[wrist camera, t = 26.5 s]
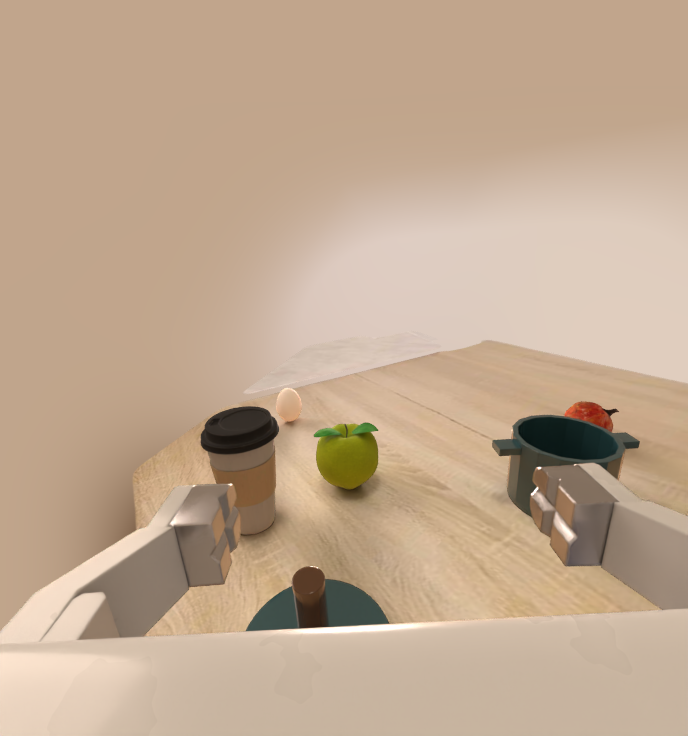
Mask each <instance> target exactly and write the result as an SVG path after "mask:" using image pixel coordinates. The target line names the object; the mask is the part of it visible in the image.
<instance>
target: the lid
mask: <svg viewBox="0 0 688 736" xmlns="http://www.w3.org/2000/svg"><path fill="white" fill-rule="evenodd" d="M378 624H389V622H388V620H387V618H386V616H385V614H384V613H383V611H382V610H381V608H380V607H379V605H378V604H377V603H376V602H375V601H374V600H373V599H372V598H371V597H370V596H369V595H368V594H366V593H365V592H364V591H362V590H361V589H359V588H357V587H355V586H353V585H351V584H348V583H345V582H342V581H337V580H330V579H325V576H324V574H323V572H322V571H321V570H320V569H319V568H317V567H313V566H307V567H304V568H301V569H300V570H298V571H297V572H296V573H295V575H294V576H293V579H292V586H291V587H289V588H287V589H285V590H283V591H282V592H280V593H279V594H277V595H275V596H274V597H273V598H272V599H270V600H269V601H268V602H267V603H266V604H265V605H264V606H263V607H262V608H261V609H260V610H259V611H258V613H257V614H256V615H255V616H254V618H253V619H252V621H251V622H250V624H249V625H248V627H247V629H246V631H262V630H282V629H301V628H320V627H340V626H359V625H378Z"/></svg>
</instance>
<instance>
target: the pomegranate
mask: <svg viewBox="0 0 688 736" xmlns="http://www.w3.org/2000/svg"><path fill="white" fill-rule="evenodd" d="M615 412H619V411H618V410H617V409H612V410H605V409H603V408H602V407H601V406H599V405H598V404H596V403H592V402H578V403H575V404H574V405H573V406H571V407H570V408H569V409H568V410H567V411H566V413H565V417H571V418H575V419H580V420H584V421H588V422H591V423H593V424H595V425H598V426H600V427H603V428H605V429H607V430H609V431H610V432H612V429H613V423H612V420H611V418H610V416H611V415H612V414H613V413H615Z"/></svg>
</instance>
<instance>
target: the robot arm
mask: <svg viewBox="0 0 688 736" xmlns="http://www.w3.org/2000/svg"><path fill="white" fill-rule="evenodd" d="M532 481H533V482H534V484H535V485H536V486H537V488H536V489H535V491H534V492H533V493H532V494H531V497H530V509H531V514H532V518H533V520H534V522H535V524H536V526H537V527H538V529H539V530H540V532H542V533H544V534H545V535H547V536H549V537H551V540H550V546H551V547H552V549H553V550H554V551H555V553H556V554H557V556H558V557H559V558H560V560H561V561H562V563H563V564H564V565H565V566H601V568H603V569H604V570H606V571H607V572H609V573H610V574H611V575H613V576H614V577H616V578H617V579H619V580H620V581H622V582H623V583H624V584H626V585H627V586H629V587H630V588H632V589H633V590H635V591H636V592H637V593H639V594H640V595H642V596H643V597H645V598H646V599H647V600H649V601H650V602H652V603H653V604H655V605H656V606H658V607H659V608H660V609H662V610H650V611H633V612H614V613H594V614H574V615H553V616H533V617H513V618H493V619H473V620H454V621H435V622H416V623H397V624H378V625H359V626H340V627H320V628H301V629H282V630H262V631H243V632H224V633H204V634H185V635H165V636H146V637H143V636H144V635H145V634H146V633H147V632H148V631H149V630H150V629H151V628H152V627H153V626H154V625H155V624H156V623H157V622H158V621H159V620H160V619H161V618H162V617H163V616H164V615H165V614H166V613H167V611H168V610H169V609H170V608H171V607H172V606H173V605H174V604H175V603H176V602H177V601H178V600H179V599H180V598H181V597H182V596H183V595H184V594H185V593H186V592H187V591H188V590H189V587H197V586H209V585H221V584H224V583H225V580H226V577H227V574H228V571H229V569H230V566H231V563H232V560H231V554H230V553H231V552H232V551H233V550H235V549H236V548H237V545H238V542H239V539H240V532H241V516H240V511H239V510H238V509H237V508H236V507H235V506H234V503H235V501H236V498H237V494H236V489H235V486H234V485H233V484H205V485H182V486H177V487H174V488H173V490H172V491H171V493H170V494H169V495H168V497H167V498H166V500H165V501H164V503H163V504H162V505H161V507H160V508H159V510H158V511H157V513H156V514H155V515H154V517H153V518H152V520H151V521H150V523H149V524H148V525H147V527H146V528H139V529H138V530H136V531H134V532H133V533H131V534H130V535H128V536H126V537H125V538H123V539H122V540H120V541H118V542H117V543H115V544H113V545H112V546H110V547H109V548H107V549H105V550H104V551H102V552H101V553H99V554H97V555H96V556H94V557H92V558H91V559H89V560H88V561H86V562H84V563H83V564H81V565H79V566H78V567H76V568H75V569H73V570H71V571H70V572H68V573H67V574H65V575H63V576H62V577H60V578H58V579H57V580H55V581H54V582H52V583H50V584H49V585H47V586H46V587H44V588H42V589H41V590H39V591H37V592H36V593H34V594H33V595H32V596H31V597H30V598H29V600H28V601H27V602H26V603H25V604H24V605H23V606H22V607H21V609H20V610H19V611H18V612H17V613H16V614H15V615H14V616H13V618H12V619H11V620H10V621H9V622H8V623H7V624H6V626H5V627H4V628H3V629H2V630H1V631H0V736H688V516H687V515H684V514H681V513H679V512H676V511H674V510H671V509H669V508H666V507H664V506H661V505H659V504H656V503H654V502H651V501H642V500H641V499H640V498H639V497H637V496H636V495H635V494H634V493H633V492H631V491H630V490H629V489H628V488H627V487H625V486H624V485H623V484H622V483H621V482H619V481H618V480H617V479H616V478H615V477H613V476H612V475H611V474H610V473H609V472H607V471H606V470H605V469H604V468H603V467H601V466H600V465H598V464H595V463H584V464H574V465H564V466H550V467H536V469H535V471H534V473H533V480H532Z"/></svg>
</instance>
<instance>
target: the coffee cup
mask: <svg viewBox="0 0 688 736" xmlns="http://www.w3.org/2000/svg"><path fill="white" fill-rule="evenodd" d="M278 432H279V426H278V425H277V421H276V419H275V418H274V417H272V416H271V414H270V412H269V411H268V410H266V409H264V408H260V407H251V406H249V407H238V408H233V409H229V410H226V411H223V412H220V413H218V414H216V415H214V416H213V417H211V418H210V419H209V420H208V421H207V422H206V424H205V429H204V430H203V432H202V434H201V446H202V447H203V449H205V450H206V451H208V454H209V457H210V465H211V468H212V471H213V474H214V477H215V480H216V483H217V484H233V485H234V486H235V489H236V494H237V498H236V501H235V503H234V506H235V507H236V508H237V509H238V510H239V511H240V516H241V532H240V534H243V535H250V534H256V533H259V532H262V531H264V530H266V529H267V528H269V527H270V526H271V525H272V523H273V522H274V519H275V488H276V465H275V446H274V438H275V437H276V436H277V434H278Z"/></svg>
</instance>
